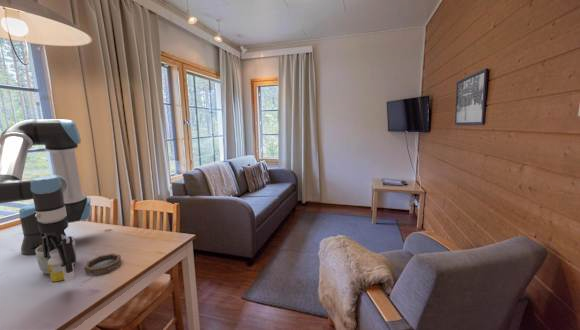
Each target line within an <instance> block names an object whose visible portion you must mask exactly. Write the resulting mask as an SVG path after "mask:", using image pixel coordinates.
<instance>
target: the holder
mask: <svg viewBox="0 0 580 330" xmlns="http://www.w3.org/2000/svg"><path fill="white" fill-rule="evenodd" d="M121 263H122V256H121V255H120V254H116V253H109V254H103V255H99V256H96V257H95V258H93V259H91V260H88V261H87V262H86V264H85V266H84V273H85V274H86V275H87V276H100V275H104V274H107V273H109V272H112V271H115V269H117V268H119V267H120V265H121Z"/></svg>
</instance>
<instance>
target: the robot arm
mask: <svg viewBox="0 0 580 330" xmlns="http://www.w3.org/2000/svg"><path fill="white" fill-rule="evenodd" d="M81 142H82V138H81V135H80V132H79V129H78V127H77V125H76V123H75V121H73V120H71V119H62V118H60V119H59V118H57V119H53V118H52V119H51V118H50V119H49V118H48V119H47V118H46V119H24V120H21V121H18V122H15V123H13V124H11V125H10V126H8V127H7V128H6V129H5V130H4V131H3V132H2V133H1V135H0V204H1V205H2V204H6V203H14V202H22V201H30V200H33V202H32V203H28V204H27V205H24V206H22V207H21V208H19V211H18V212H19V213H18V214H19V218H18V219H19V220H20V224H21V228H22V229H21V231H22V233H23V239H22V243H21V246H20V251H21V255H28V256H29V255H30V256H32V255H36V252H35V250H36V249H37V248H38V247H39V246H41V245H42V247H43V254H44V258H47V260H49V259H50V258H51V257H50V254H49V252H50V251H52V250H54V249H57V250H58V252H59V255H60V257H61V260H62V262H63V265H61V267H62V270H63V276H64V281H65V282H64V283H67V282H69V281H71V280H72V279H75V274H74V273H75V271H74V272H73V267H74V265H73V266H72V263H74V262H75V263H76V262H77V259H76V258H75V253H74V249H73V245H72V239H73V237H72V236H67V234H66V232H65V230H66V229H68V227H69V224H71V223H75V222H76V223H77V222H82V221H85V220H88V219H90V217H91V198H90V197H88V196H87V195H86V194H85V193H83V190H82V185H81V184H82V183H81V180H80V174H79V173H80V172H79V168H78V163H77V157H76V149H78V147H79V144H81ZM33 146H45V150H46V151H49V153H50V154H51V159H52V164H53V169H54V174H50V175H42V176H36V177H34V178H25V179H23V175H24V170H25V166H26V162H27V157H28V153H29V150H30V149H31V148H32V147H33ZM59 244H61V245H59Z"/></svg>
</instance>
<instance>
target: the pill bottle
mask: <svg viewBox="0 0 580 330" xmlns="http://www.w3.org/2000/svg"><path fill="white" fill-rule="evenodd" d="M49 254H50V257H51V258H50V259H49V260H48V267H49V272H50V274H49V276H50V281H51V283H53V284H61V283H66V282H65V281H64V276H63V270H62V267H61V265H63V262H62V260H61V257H60V255H59V252H58V250H57V249H54V250H52V251H50V252H49ZM72 266H73V272H74V275H75V269H74V265H73V263H72Z"/></svg>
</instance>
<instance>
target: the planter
mask: <svg viewBox="0 0 580 330" xmlns="http://www.w3.org/2000/svg"><path fill="white" fill-rule="evenodd" d="M59 245H61V244H59ZM72 245H73V249H74V253H75V258H76V260H77V246H76V239H74V238H72ZM35 252H36V254H35V255H36V259H37V263H38V266H39V269H40V271H41V272H42V273H43V274H46V275H50V272H49V267H48V260H47V258H44V254H43V247H42V245H41V246H39V247H38V248H37V249H36V250H35ZM75 264H76V262H74V263H73V266H74V265H75Z"/></svg>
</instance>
